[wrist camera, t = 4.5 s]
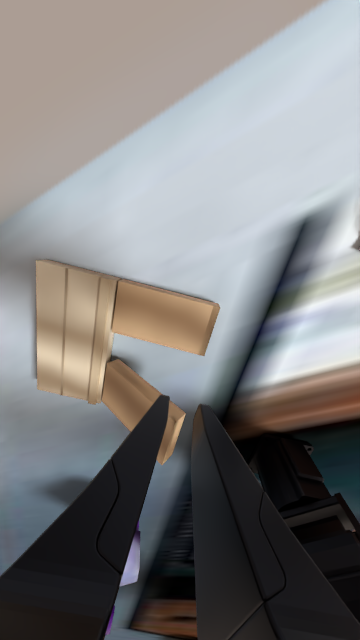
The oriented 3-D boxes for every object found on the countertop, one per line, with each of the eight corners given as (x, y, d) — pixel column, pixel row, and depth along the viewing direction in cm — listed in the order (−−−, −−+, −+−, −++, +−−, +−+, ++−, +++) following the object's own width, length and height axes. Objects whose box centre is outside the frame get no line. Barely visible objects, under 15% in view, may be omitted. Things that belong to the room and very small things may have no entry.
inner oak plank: (172, 454, 18) (161, 465, 16) (112, 395, 22) (101, 400, 21) (185, 413, 16) (175, 422, 15) (118, 359, 21) (106, 363, 19)
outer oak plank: (203, 349, 20) (204, 356, 18) (117, 326, 20) (111, 331, 18) (218, 303, 18) (220, 307, 17) (124, 279, 18) (118, 281, 17)
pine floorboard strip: (105, 394, 23) (98, 405, 21) (46, 380, 22) (35, 391, 21) (121, 278, 18) (114, 280, 16) (48, 259, 18) (33, 260, 16)
